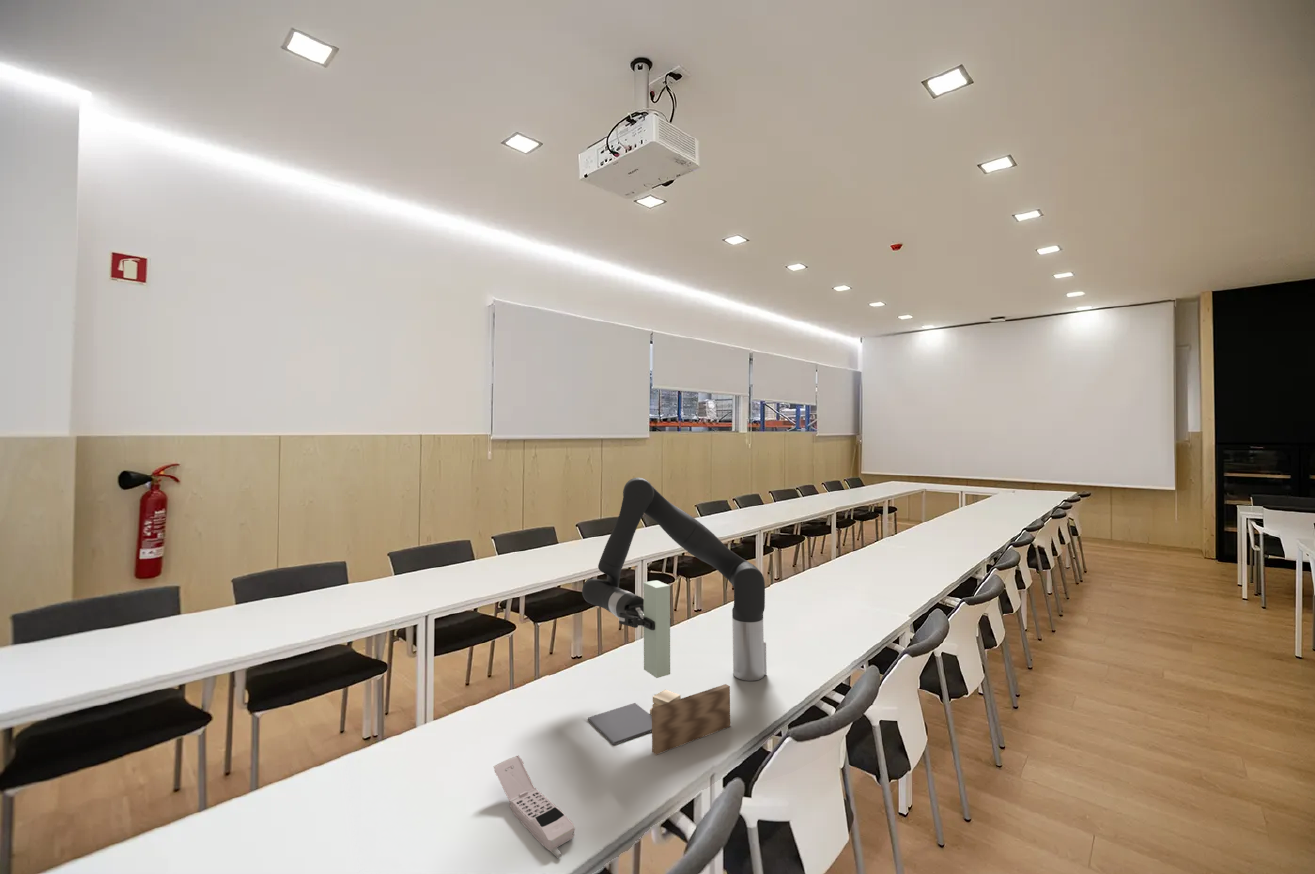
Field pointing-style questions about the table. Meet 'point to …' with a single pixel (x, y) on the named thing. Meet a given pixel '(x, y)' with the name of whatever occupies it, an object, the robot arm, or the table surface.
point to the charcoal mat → (623, 723)
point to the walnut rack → (690, 718)
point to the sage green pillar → (657, 628)
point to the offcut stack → (664, 698)
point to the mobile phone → (534, 806)
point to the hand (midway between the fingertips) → (661, 624)
